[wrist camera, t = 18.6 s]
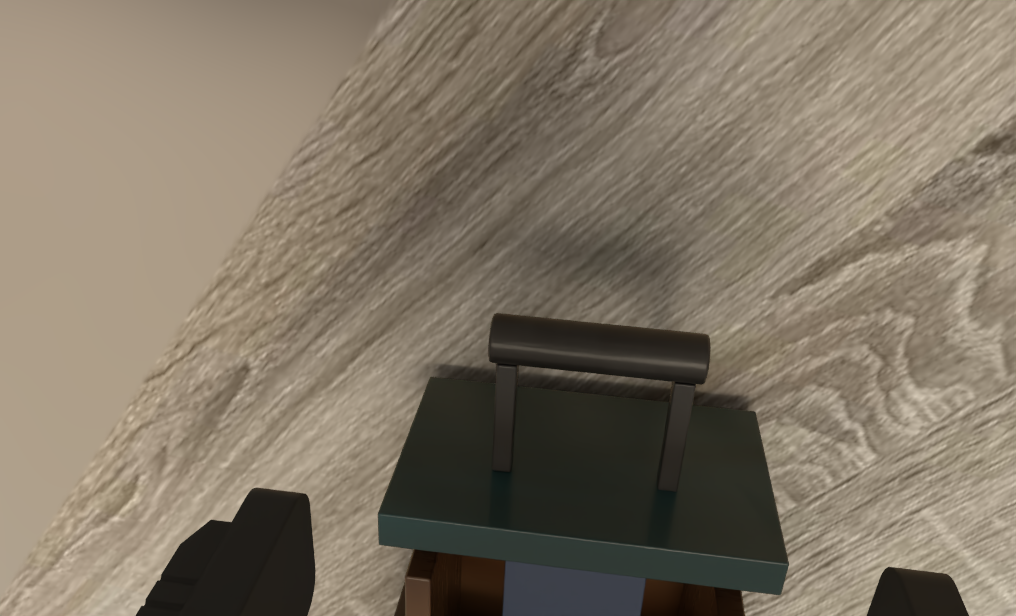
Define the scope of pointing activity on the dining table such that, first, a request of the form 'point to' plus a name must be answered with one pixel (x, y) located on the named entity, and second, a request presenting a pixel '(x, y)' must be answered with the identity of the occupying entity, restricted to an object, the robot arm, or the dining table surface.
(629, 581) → the block
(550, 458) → the drawer
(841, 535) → the dining table surface
